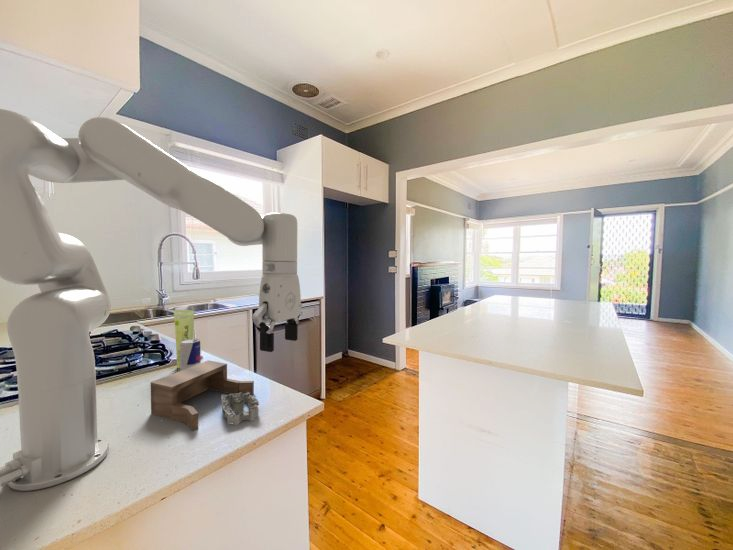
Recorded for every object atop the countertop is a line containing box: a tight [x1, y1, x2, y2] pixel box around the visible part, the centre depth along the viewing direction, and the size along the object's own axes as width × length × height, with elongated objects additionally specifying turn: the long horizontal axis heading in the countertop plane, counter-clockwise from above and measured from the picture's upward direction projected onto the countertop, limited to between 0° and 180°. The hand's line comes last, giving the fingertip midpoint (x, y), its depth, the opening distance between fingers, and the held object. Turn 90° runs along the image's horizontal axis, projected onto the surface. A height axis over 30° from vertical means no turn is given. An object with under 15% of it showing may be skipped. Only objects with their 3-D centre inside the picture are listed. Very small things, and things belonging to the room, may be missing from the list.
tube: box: [172, 309, 195, 369], centre depth 101 cm, size 6×5×20 cm
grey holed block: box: [220, 392, 260, 426], centre depth 73 cm, size 11×8×4 cm
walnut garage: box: [150, 360, 255, 431], centre depth 76 cm, size 19×16×8 cm
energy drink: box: [179, 338, 202, 371], centre depth 91 cm, size 5×5×12 cm
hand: (279, 344), depth 68 cm, fingers open, 8 cm apart
